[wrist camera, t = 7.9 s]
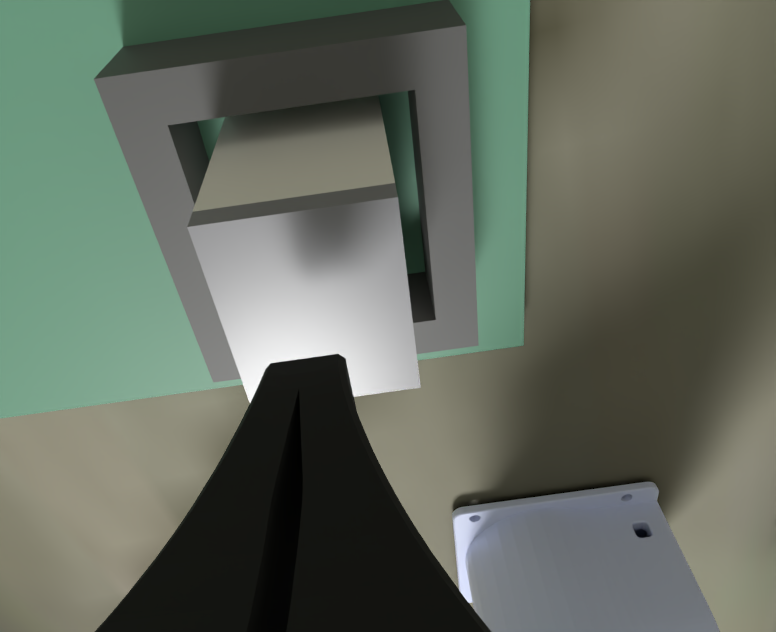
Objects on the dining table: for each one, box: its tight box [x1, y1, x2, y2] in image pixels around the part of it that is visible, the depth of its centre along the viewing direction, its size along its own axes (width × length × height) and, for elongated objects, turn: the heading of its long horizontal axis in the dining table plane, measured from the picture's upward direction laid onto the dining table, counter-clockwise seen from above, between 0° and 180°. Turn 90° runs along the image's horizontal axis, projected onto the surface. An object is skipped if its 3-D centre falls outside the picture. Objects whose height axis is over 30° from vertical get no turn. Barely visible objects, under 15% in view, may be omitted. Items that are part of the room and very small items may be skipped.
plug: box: [187, 95, 421, 403], centre depth 16 cm, size 4×5×6 cm
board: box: [0, 0, 530, 418], centre depth 18 cm, size 22×14×4 cm, turn 97°
